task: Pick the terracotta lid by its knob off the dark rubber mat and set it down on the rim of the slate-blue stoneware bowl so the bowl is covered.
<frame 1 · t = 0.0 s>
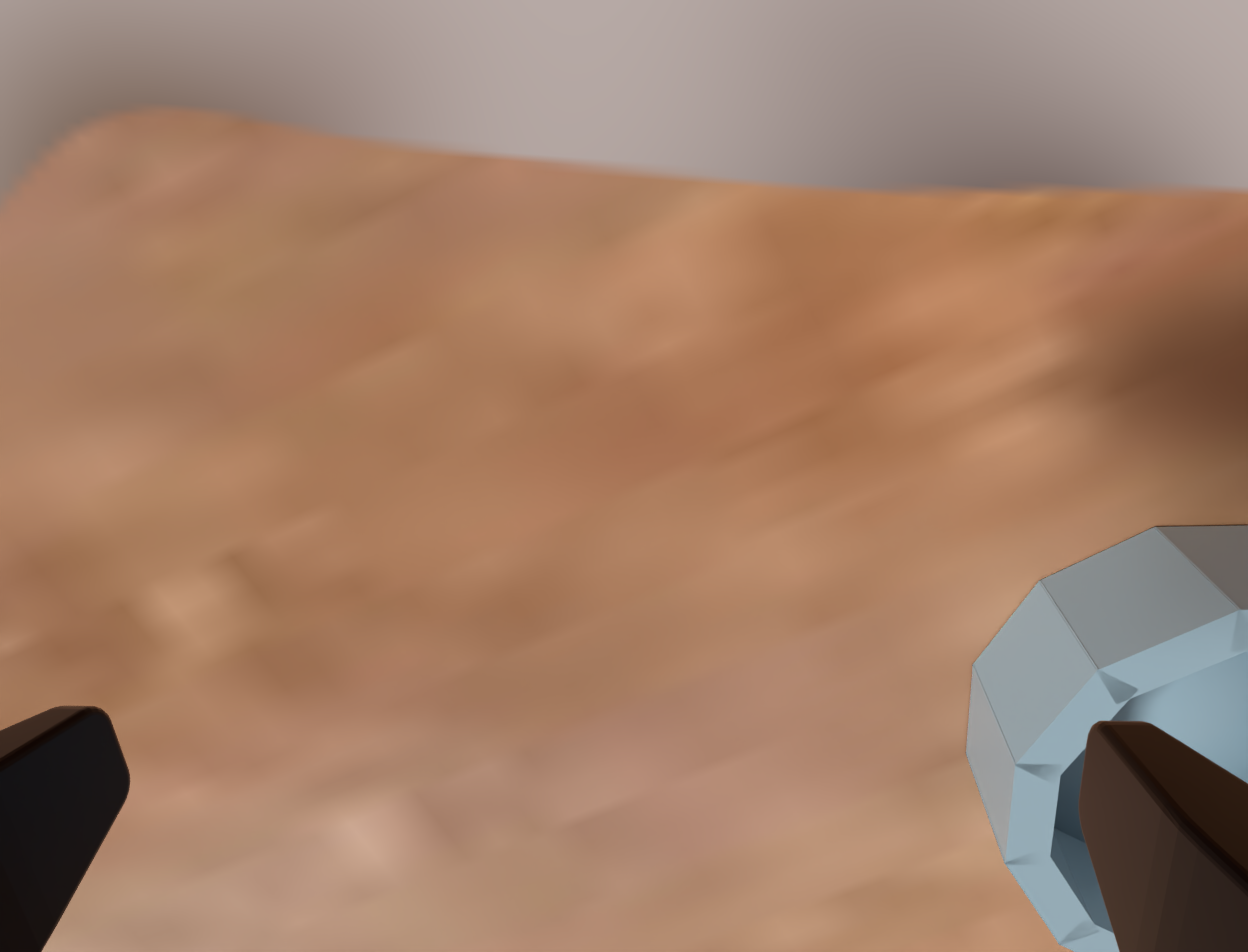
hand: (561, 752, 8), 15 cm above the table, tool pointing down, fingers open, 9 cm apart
bowl: (1184, 712, 23), on the table
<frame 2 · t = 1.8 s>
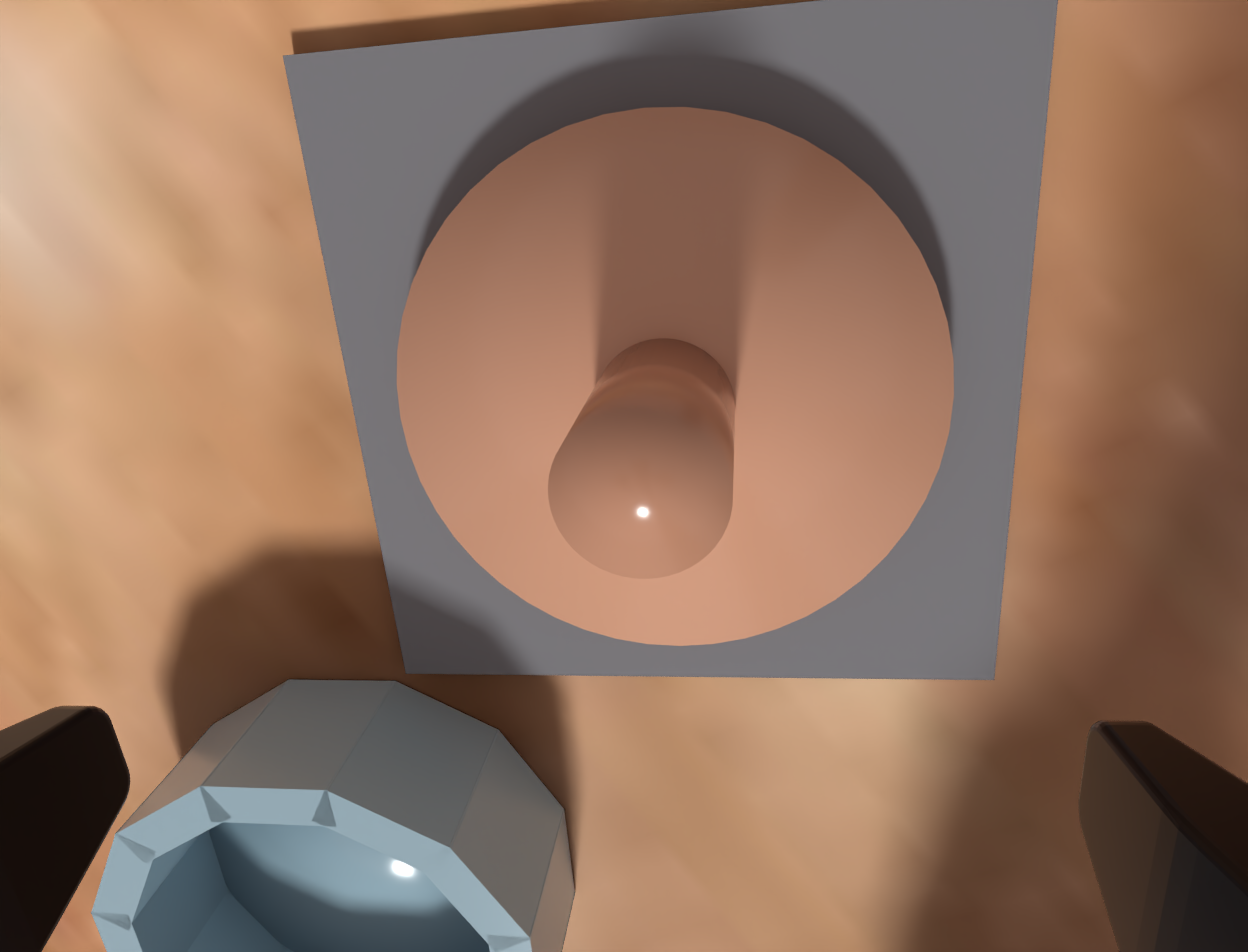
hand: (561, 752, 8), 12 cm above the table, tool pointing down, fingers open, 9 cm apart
lid: (668, 393, 18), resting on mat
mat: (669, 388, 18), on the table
bowl: (379, 843, 24), on the table
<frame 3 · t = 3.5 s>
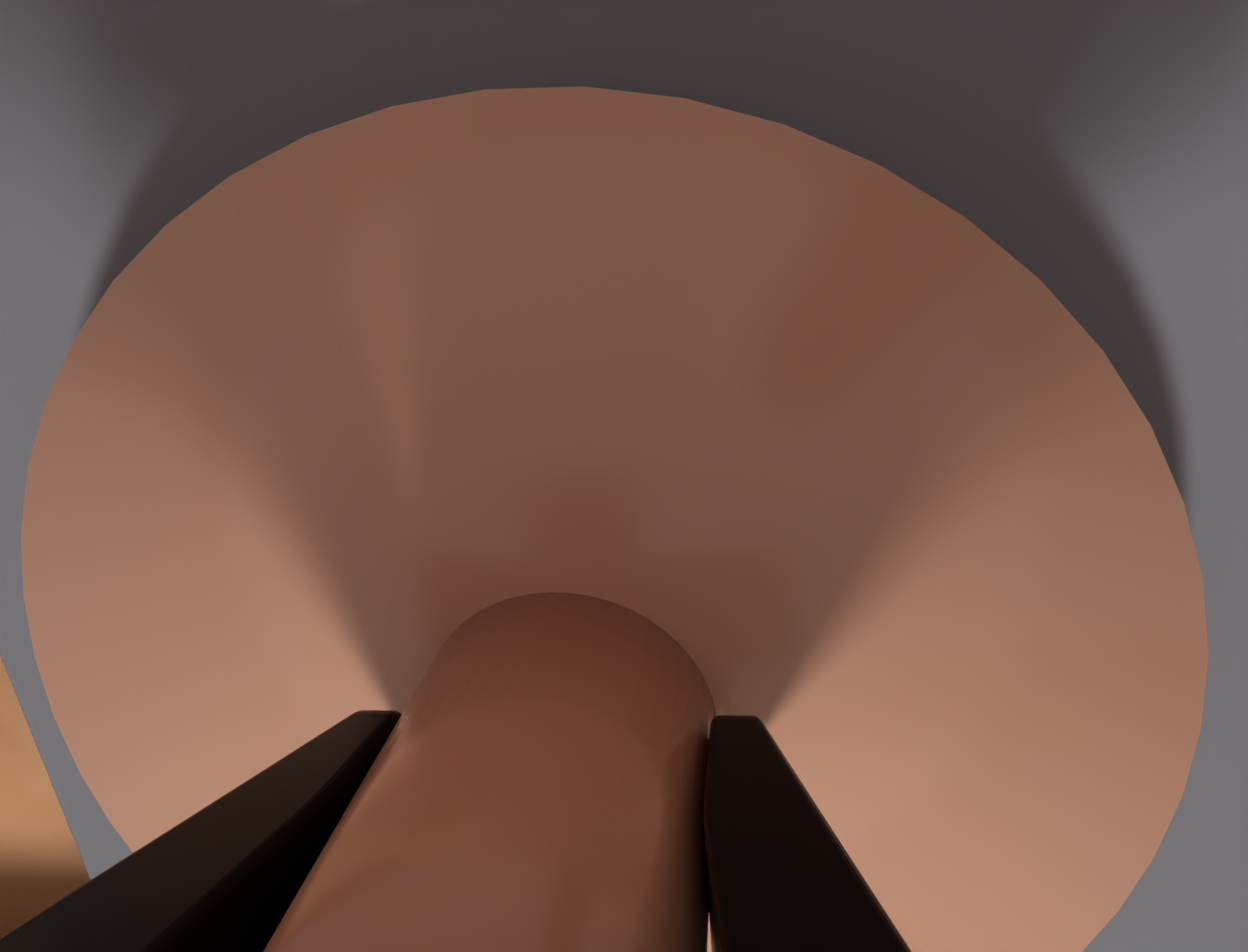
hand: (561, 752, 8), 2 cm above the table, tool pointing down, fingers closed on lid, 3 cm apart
lid: (586, 662, 9), resting on mat, touching gripper
mat: (593, 641, 9), on the table
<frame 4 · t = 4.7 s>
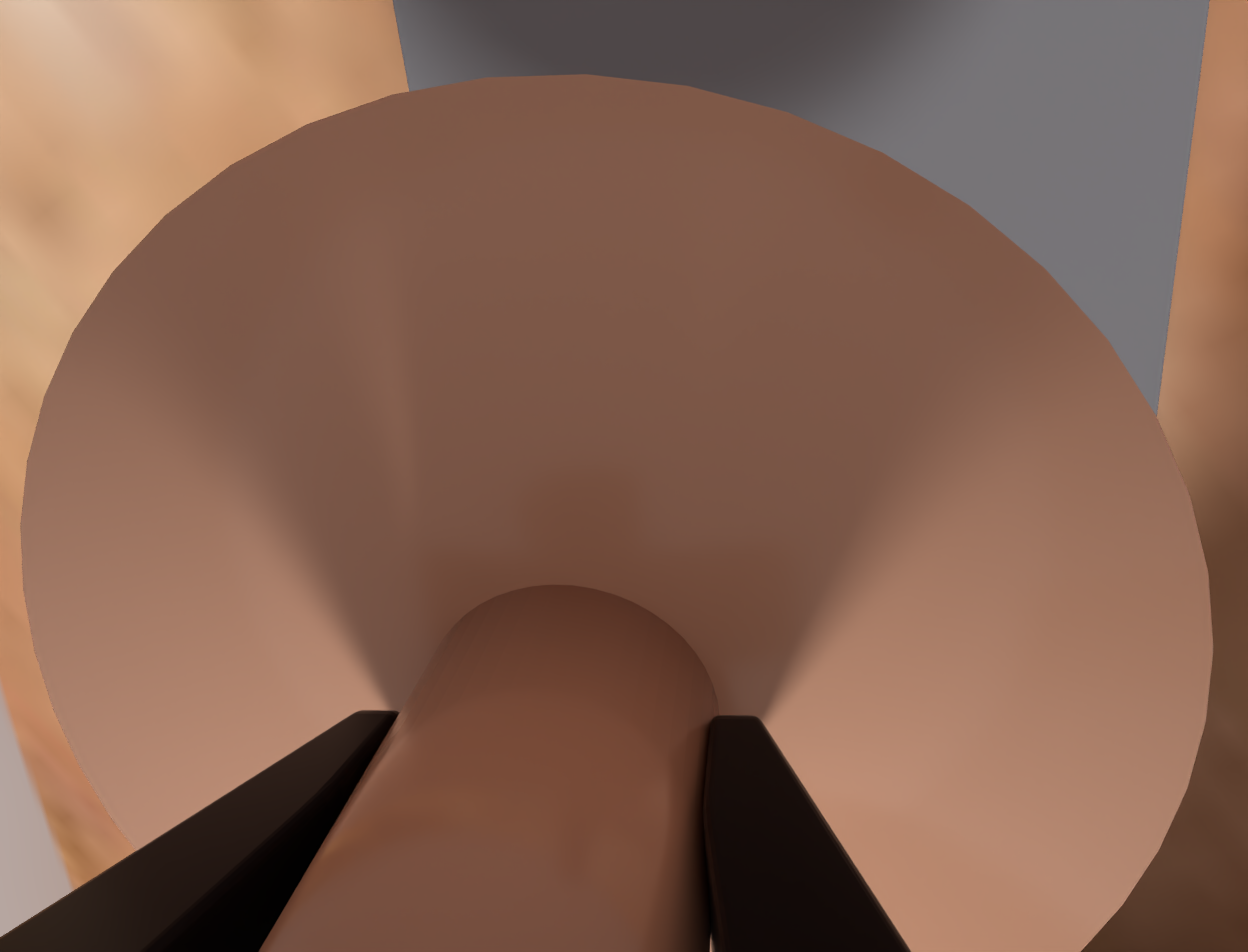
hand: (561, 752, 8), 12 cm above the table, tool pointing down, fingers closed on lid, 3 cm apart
lid: (588, 655, 9), point 10 cm above the table, touching gripper
mat: (785, 155, 16), on the table
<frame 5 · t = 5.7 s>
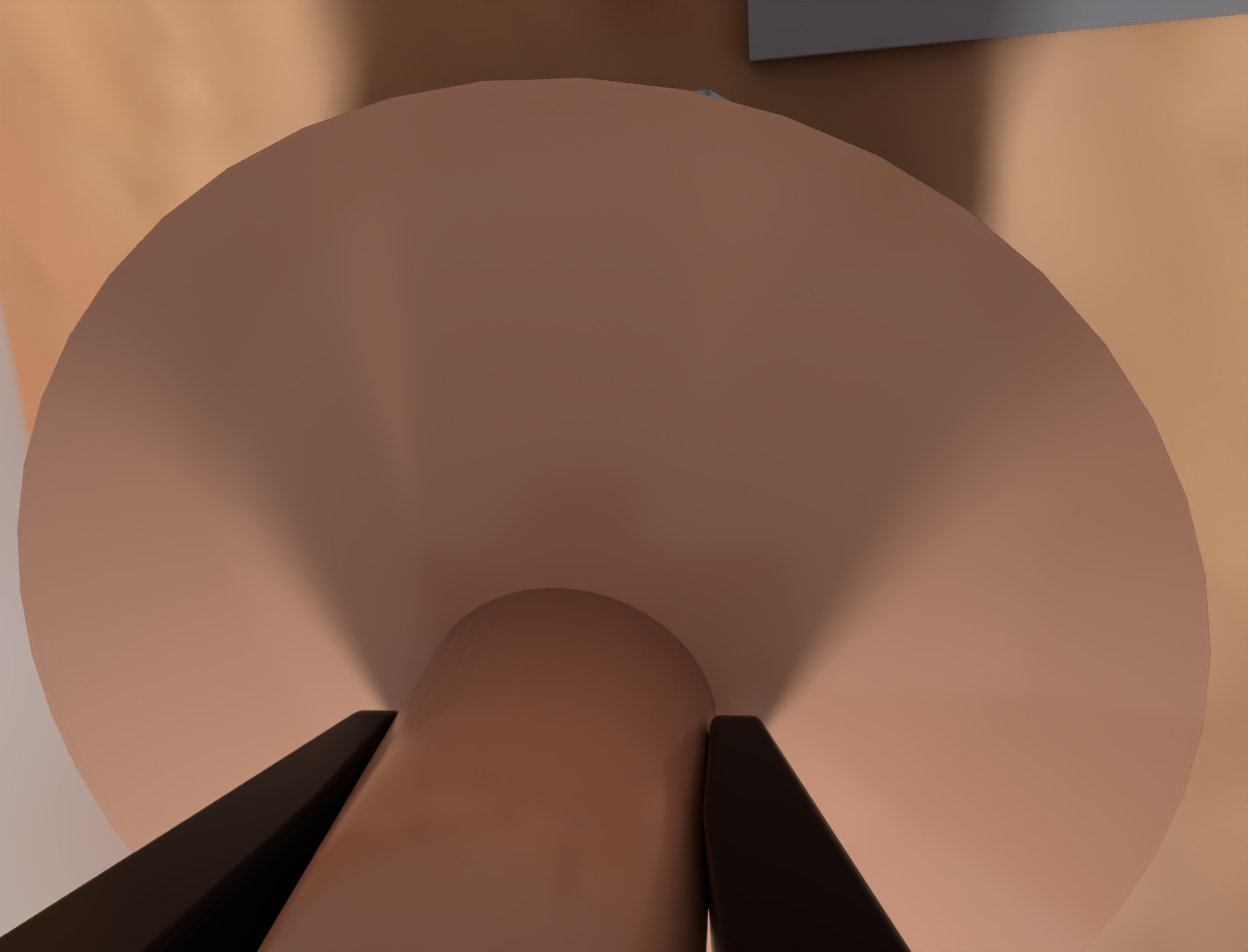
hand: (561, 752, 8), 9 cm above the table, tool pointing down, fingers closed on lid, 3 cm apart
lid: (586, 658, 9), point 8 cm above the table, touching gripper
when the fingers open (7 cm above the table, at t = 6.3 s): lid drops 2 cm, resting on bowl.
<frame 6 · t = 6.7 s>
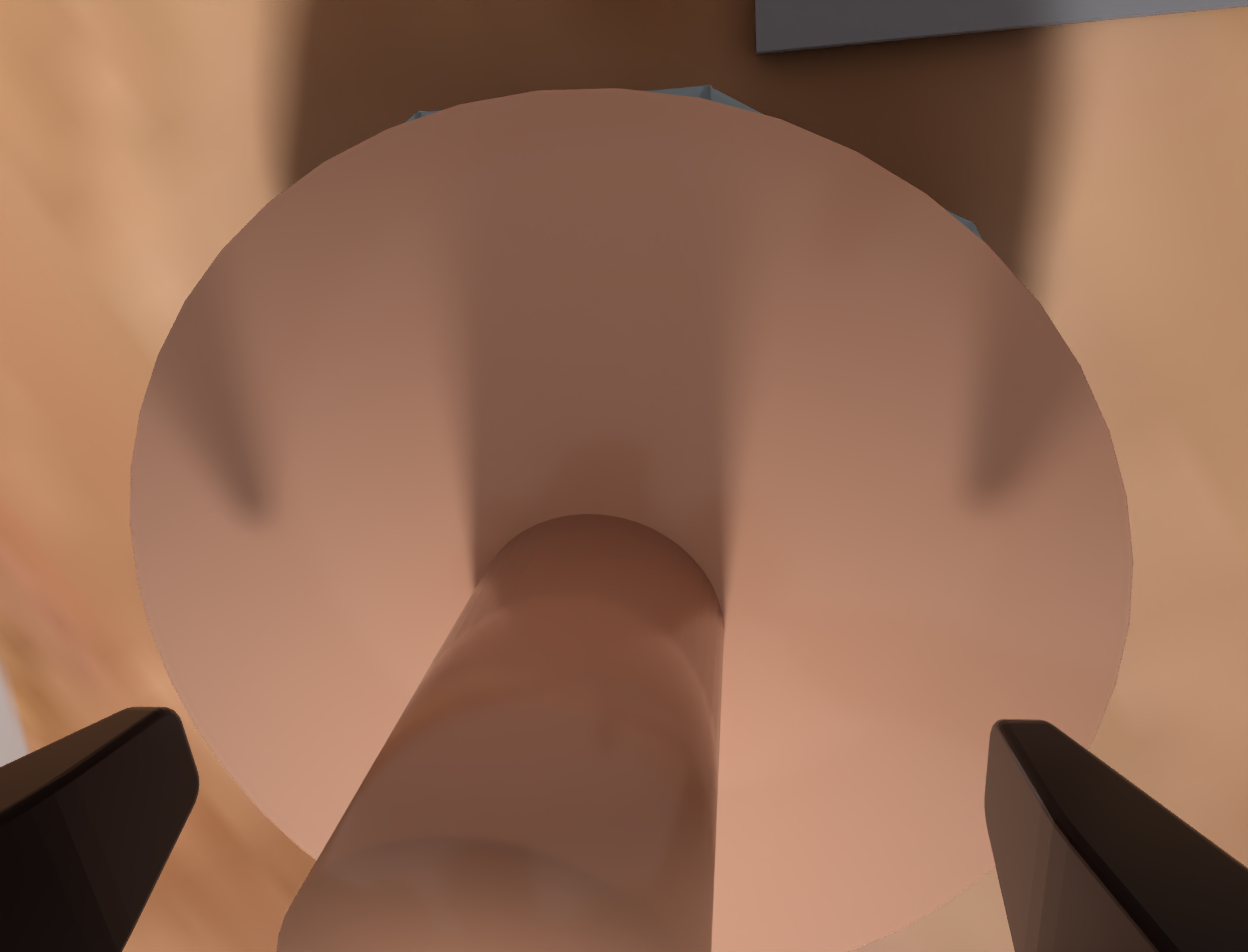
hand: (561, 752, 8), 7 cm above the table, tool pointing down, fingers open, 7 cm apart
lid: (610, 584, 11), point 4 cm above the table, touching bowl
bowl: (642, 468, 14), on the table
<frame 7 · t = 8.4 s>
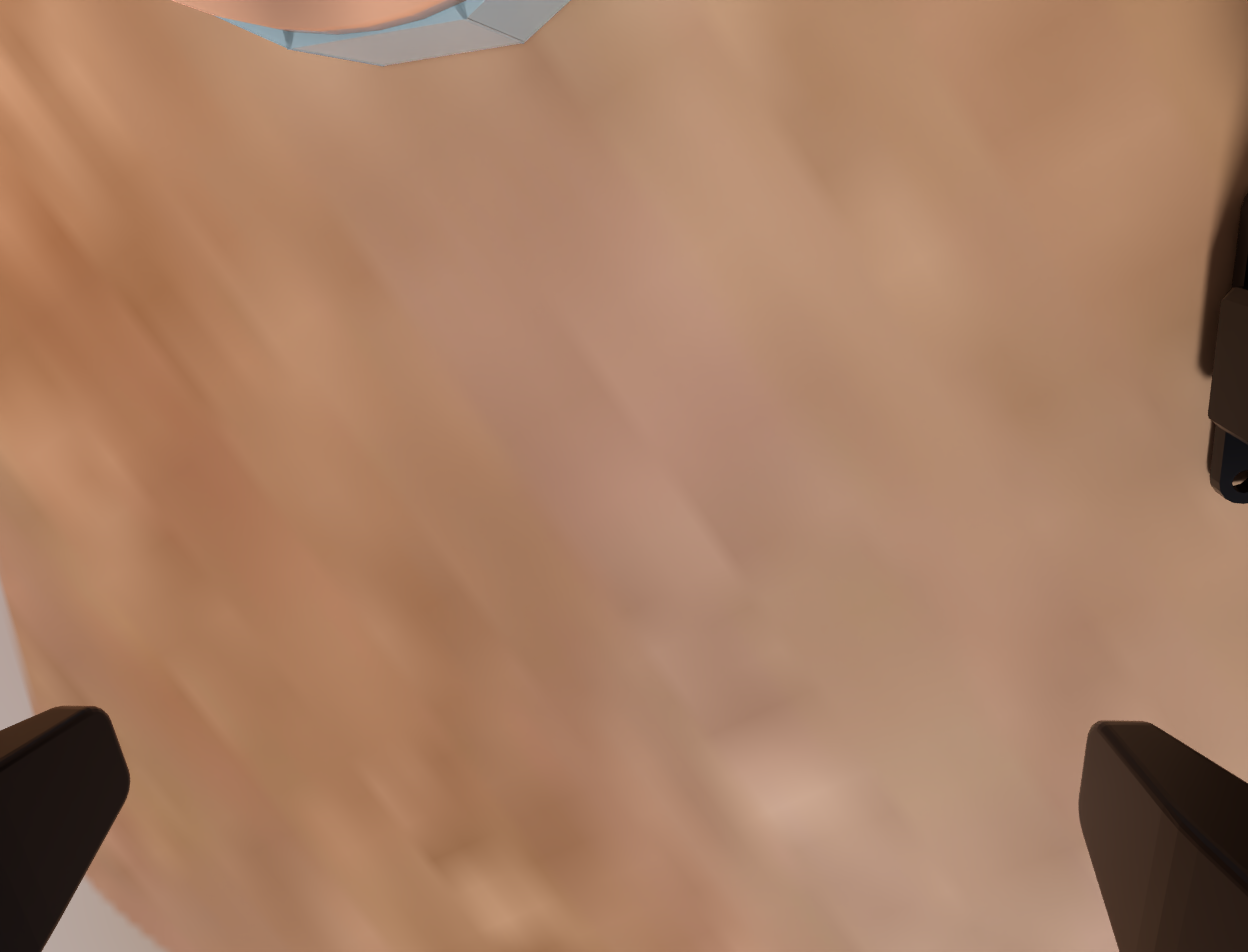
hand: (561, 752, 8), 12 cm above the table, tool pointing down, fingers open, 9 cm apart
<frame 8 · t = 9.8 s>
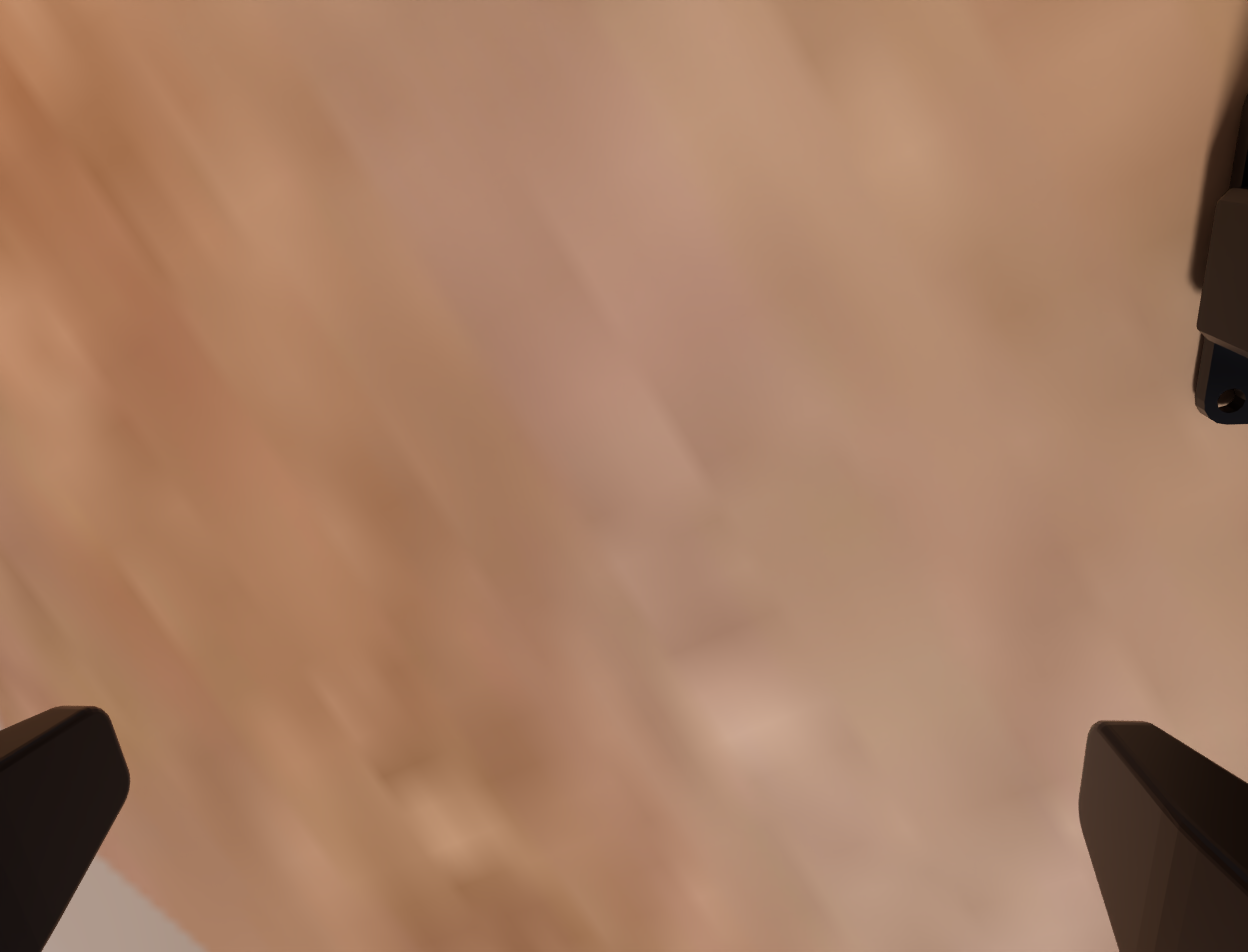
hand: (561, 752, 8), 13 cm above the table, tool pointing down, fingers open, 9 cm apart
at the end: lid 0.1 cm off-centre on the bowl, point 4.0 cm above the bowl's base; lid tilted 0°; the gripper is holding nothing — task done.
